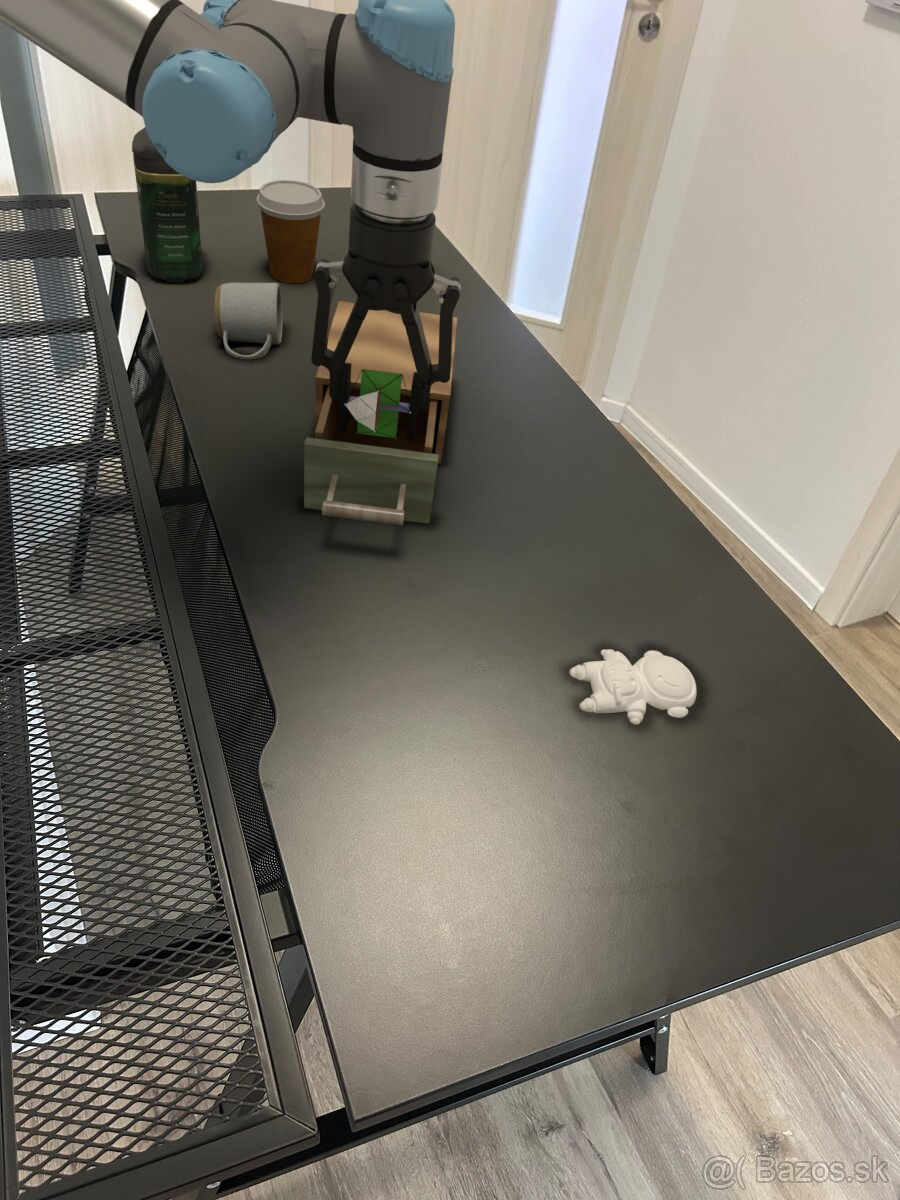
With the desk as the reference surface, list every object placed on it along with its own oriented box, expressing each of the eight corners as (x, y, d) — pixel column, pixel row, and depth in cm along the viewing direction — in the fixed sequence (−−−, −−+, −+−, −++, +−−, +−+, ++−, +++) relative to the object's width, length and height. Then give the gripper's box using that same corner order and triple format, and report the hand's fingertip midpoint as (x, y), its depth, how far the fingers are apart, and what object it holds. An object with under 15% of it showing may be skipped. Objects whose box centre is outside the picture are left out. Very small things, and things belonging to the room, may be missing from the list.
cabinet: (439, 469, 99) (450, 395, 92) (314, 453, 99) (315, 376, 91) (447, 388, 112) (457, 317, 104) (336, 373, 111) (338, 300, 104)
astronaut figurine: (562, 654, 82) (569, 633, 79) (681, 657, 83) (691, 636, 81) (578, 729, 75) (586, 709, 73) (706, 731, 77) (718, 711, 75)
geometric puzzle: (352, 381, 93) (348, 351, 85) (415, 389, 93) (416, 360, 85) (344, 444, 92) (339, 420, 84) (407, 452, 92) (408, 429, 84)
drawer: (425, 560, 87) (434, 497, 81) (294, 544, 86) (293, 479, 80) (438, 435, 103) (446, 374, 97) (327, 420, 102) (328, 358, 96)
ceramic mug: (222, 322, 116) (218, 268, 111) (283, 326, 117) (282, 273, 112) (213, 364, 109) (208, 309, 103) (278, 368, 110) (277, 314, 105)
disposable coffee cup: (247, 266, 128) (243, 184, 120) (301, 255, 133) (300, 174, 125) (281, 294, 124) (280, 210, 115) (336, 280, 129) (338, 199, 120)
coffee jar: (205, 284, 123) (193, 147, 110) (147, 284, 121) (128, 144, 108) (202, 254, 129) (190, 121, 116) (147, 254, 127) (129, 118, 114)
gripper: (273, 207, 71) (279, 436, 87) (503, 241, 72) (466, 461, 88) (289, 175, 76) (292, 397, 93) (504, 206, 77) (468, 420, 94)
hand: (377, 428), depth 90 cm, fingers closed on geometric puzzle, 6 cm apart
